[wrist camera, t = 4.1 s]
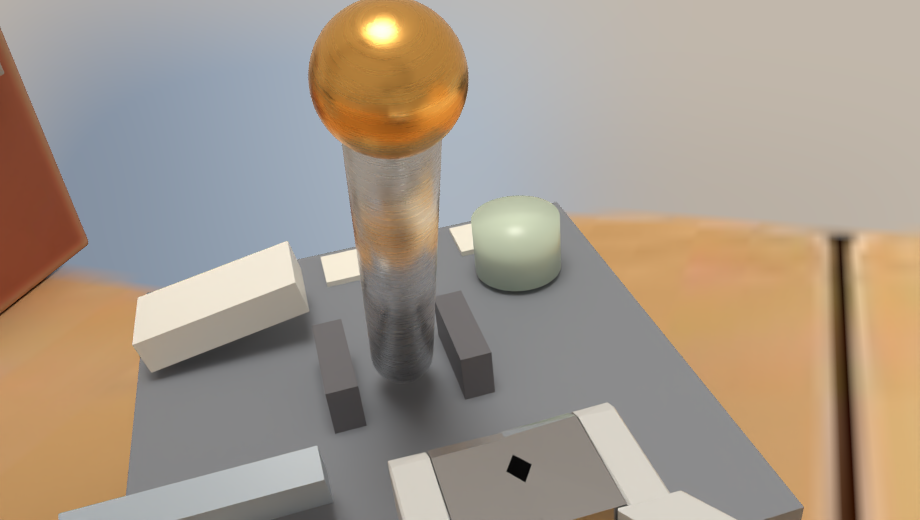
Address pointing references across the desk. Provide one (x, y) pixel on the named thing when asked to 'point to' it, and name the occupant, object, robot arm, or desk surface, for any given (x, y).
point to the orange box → (29, 194)
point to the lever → (392, 160)
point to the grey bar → (227, 493)
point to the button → (516, 242)
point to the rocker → (219, 306)
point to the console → (446, 387)
